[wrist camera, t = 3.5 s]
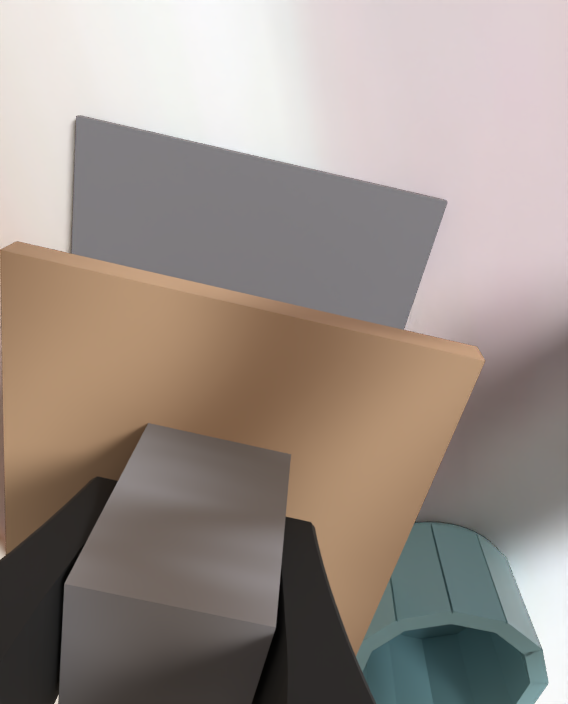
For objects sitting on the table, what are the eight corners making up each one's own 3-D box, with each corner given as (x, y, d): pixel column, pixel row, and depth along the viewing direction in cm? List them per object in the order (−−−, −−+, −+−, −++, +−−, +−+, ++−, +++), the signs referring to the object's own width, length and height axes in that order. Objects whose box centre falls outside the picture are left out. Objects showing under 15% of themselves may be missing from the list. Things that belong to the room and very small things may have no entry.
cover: (477, 346, 10) (576, 514, 6) (352, 641, 14) (363, 861, 10) (16, 241, 10) (-193, 345, 6) (18, 571, 14) (-107, 771, 10)
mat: (445, 199, 16) (447, 201, 16) (349, 482, 21) (349, 487, 21) (80, 115, 16) (76, 115, 15) (68, 423, 21) (65, 427, 20)
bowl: (536, 541, 22) (581, 637, 18) (473, 650, 25) (500, 751, 21) (367, 506, 21) (377, 595, 18) (325, 621, 25) (325, 717, 21)
